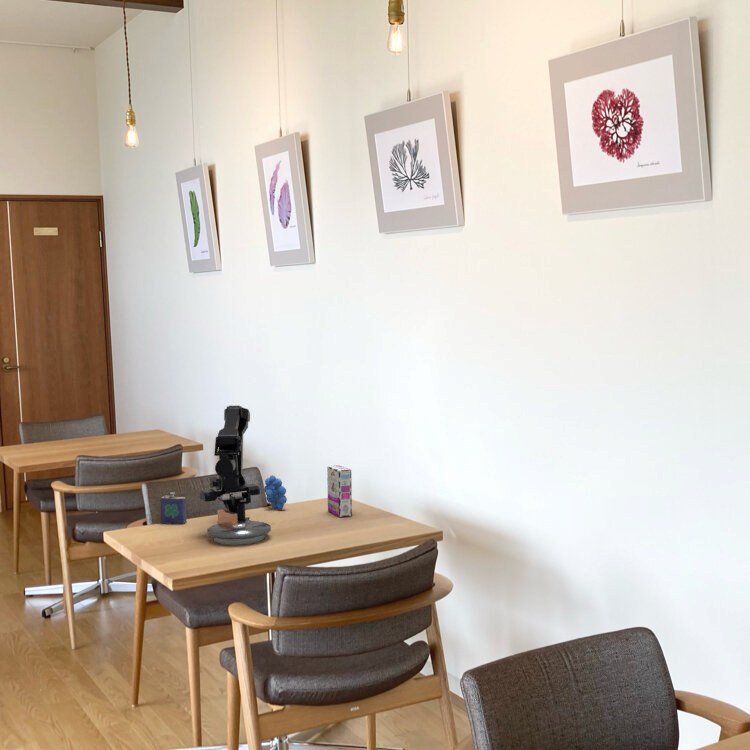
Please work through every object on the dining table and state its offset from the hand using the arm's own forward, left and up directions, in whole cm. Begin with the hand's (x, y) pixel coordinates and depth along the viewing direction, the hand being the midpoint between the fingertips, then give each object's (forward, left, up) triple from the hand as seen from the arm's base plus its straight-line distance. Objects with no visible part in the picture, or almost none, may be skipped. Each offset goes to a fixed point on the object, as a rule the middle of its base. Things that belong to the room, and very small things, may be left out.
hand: (231, 518), depth 320 cm
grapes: (-35, 0, -5) cm, 36 cm away
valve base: (+7, +6, -5) cm, 10 cm away
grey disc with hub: (+6, +5, -2) cm, 9 cm away
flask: (-7, -25, -5) cm, 27 cm away
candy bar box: (-33, +26, -5) cm, 42 cm away
